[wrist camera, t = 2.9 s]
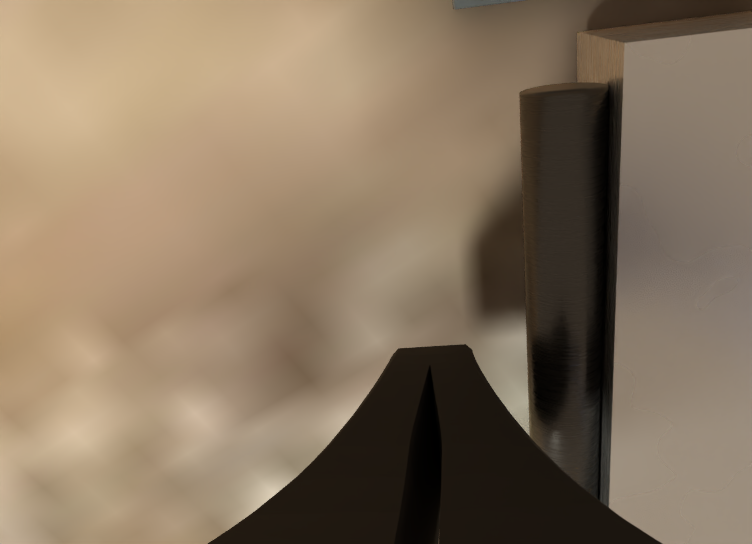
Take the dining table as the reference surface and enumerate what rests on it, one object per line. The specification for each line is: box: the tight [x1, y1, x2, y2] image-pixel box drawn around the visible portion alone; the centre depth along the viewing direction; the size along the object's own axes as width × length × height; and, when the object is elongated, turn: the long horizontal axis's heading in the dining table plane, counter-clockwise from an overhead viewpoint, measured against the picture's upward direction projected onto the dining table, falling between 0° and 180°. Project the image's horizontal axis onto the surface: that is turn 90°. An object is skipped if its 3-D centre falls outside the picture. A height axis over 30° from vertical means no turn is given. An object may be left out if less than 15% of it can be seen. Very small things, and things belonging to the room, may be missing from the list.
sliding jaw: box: [519, 11, 752, 544], centre depth 11 cm, size 4×12×3 cm, turn 7°
